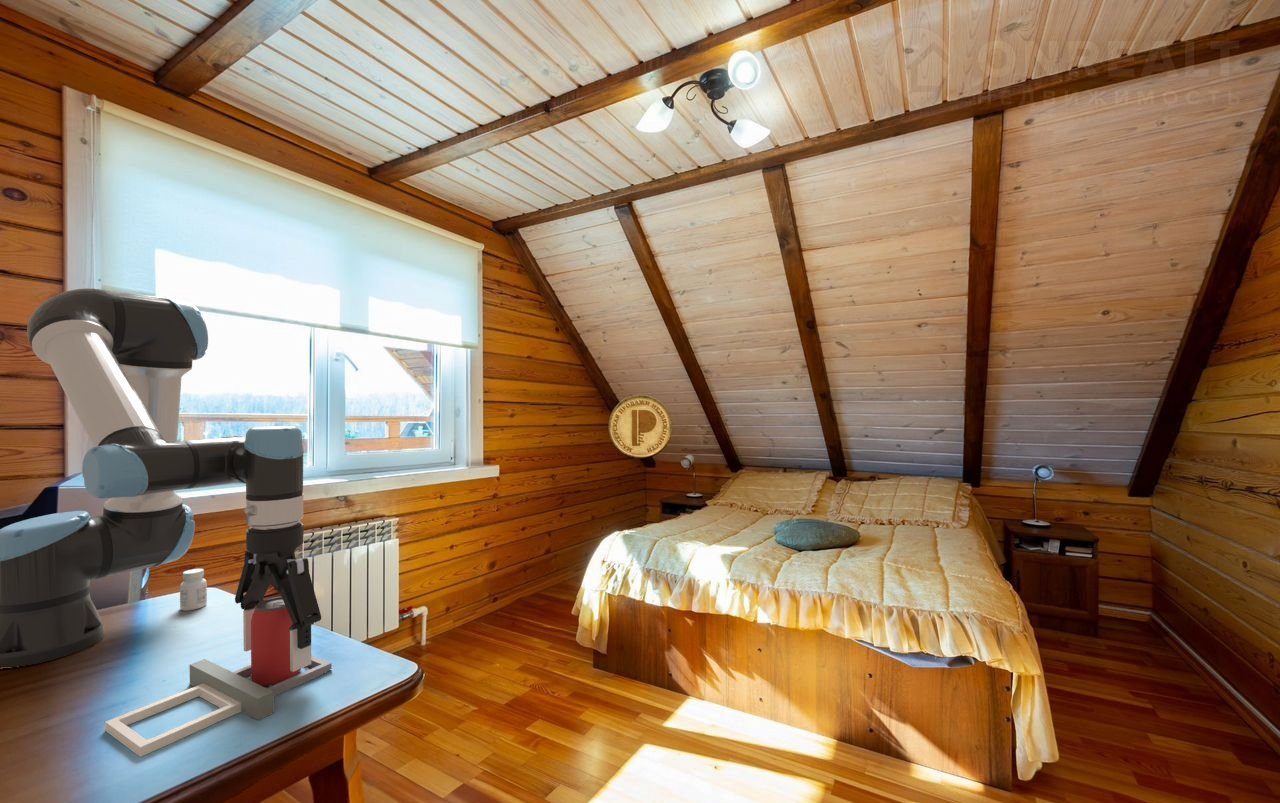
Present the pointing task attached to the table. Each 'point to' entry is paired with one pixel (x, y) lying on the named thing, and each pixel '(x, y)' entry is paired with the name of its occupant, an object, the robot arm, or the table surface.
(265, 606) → the beer can
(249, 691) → the double frame with crossbar
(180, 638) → the table surface
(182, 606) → the pill bottle
